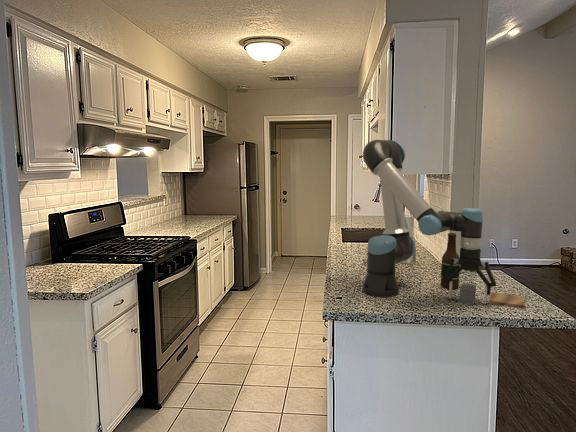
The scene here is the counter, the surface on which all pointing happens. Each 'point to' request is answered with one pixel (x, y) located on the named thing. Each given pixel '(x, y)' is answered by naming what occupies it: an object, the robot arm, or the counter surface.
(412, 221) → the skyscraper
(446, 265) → the beer bottle
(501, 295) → the walnut board
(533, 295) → the counter surface
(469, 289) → the plug
